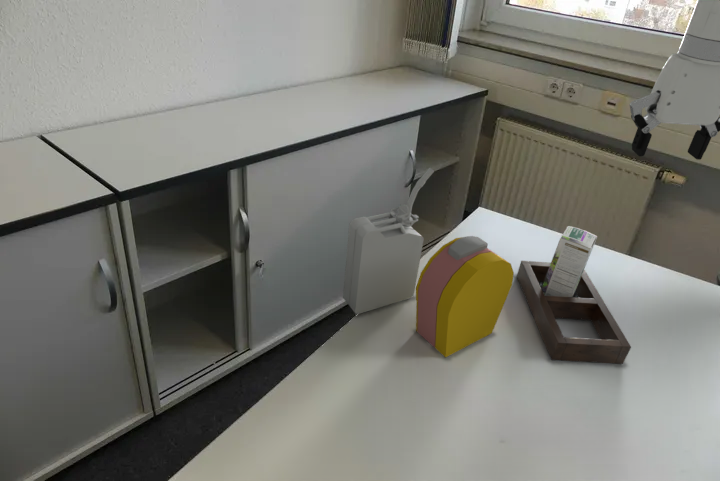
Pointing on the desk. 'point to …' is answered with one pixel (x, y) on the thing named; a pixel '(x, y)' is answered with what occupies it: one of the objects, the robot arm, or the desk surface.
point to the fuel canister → (383, 257)
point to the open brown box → (584, 307)
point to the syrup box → (568, 262)
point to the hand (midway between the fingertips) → (665, 154)
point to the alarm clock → (461, 294)
